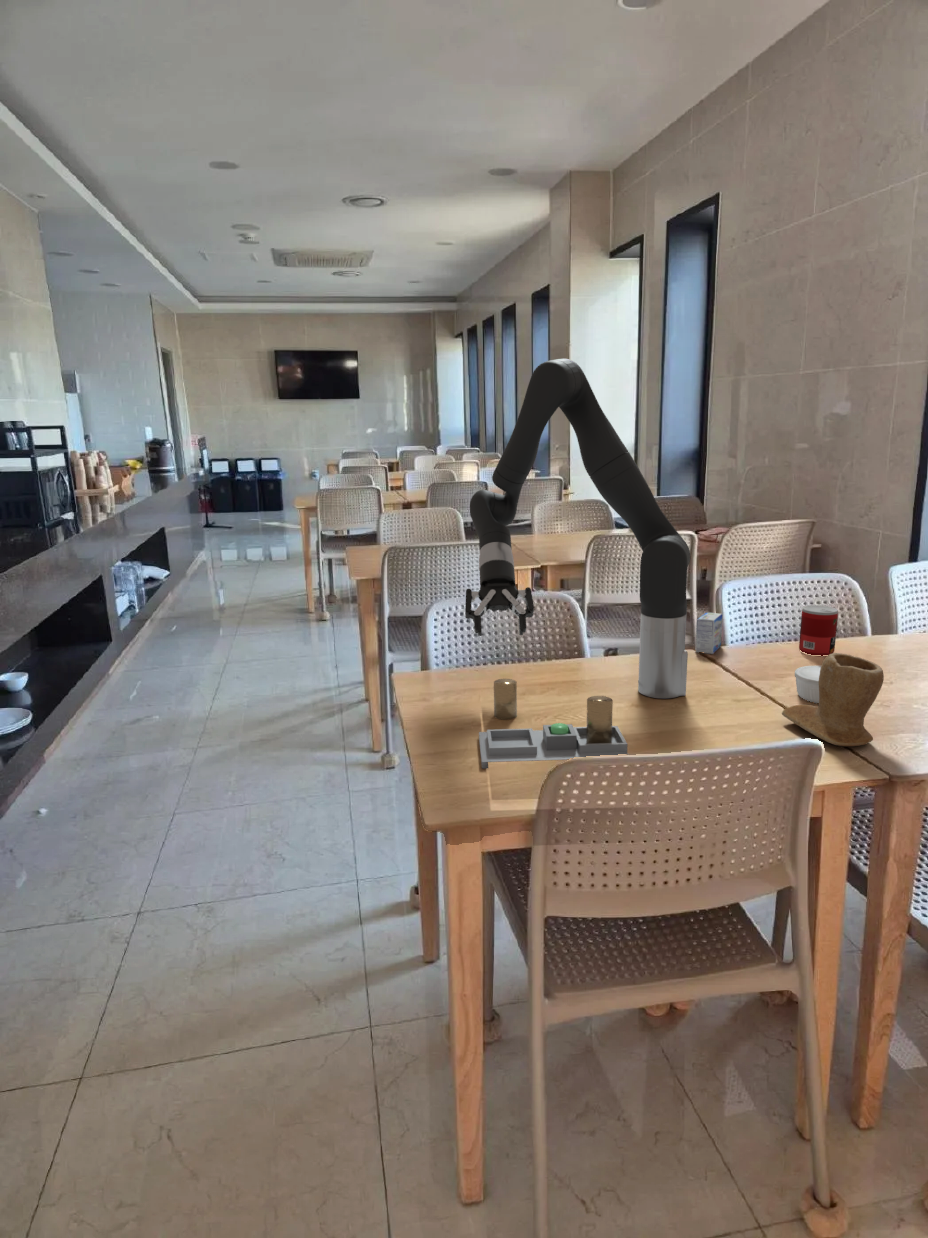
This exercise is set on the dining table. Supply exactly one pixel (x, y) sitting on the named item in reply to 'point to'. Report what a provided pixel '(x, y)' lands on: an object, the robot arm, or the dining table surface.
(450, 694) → the dining table surface
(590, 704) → the seated billet
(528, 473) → the robot arm
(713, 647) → the medicine box
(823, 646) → the canned food
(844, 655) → the tan hollow curved piece
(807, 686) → the ramekin
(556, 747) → the grey socket tray
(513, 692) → the cylinder
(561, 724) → the button
